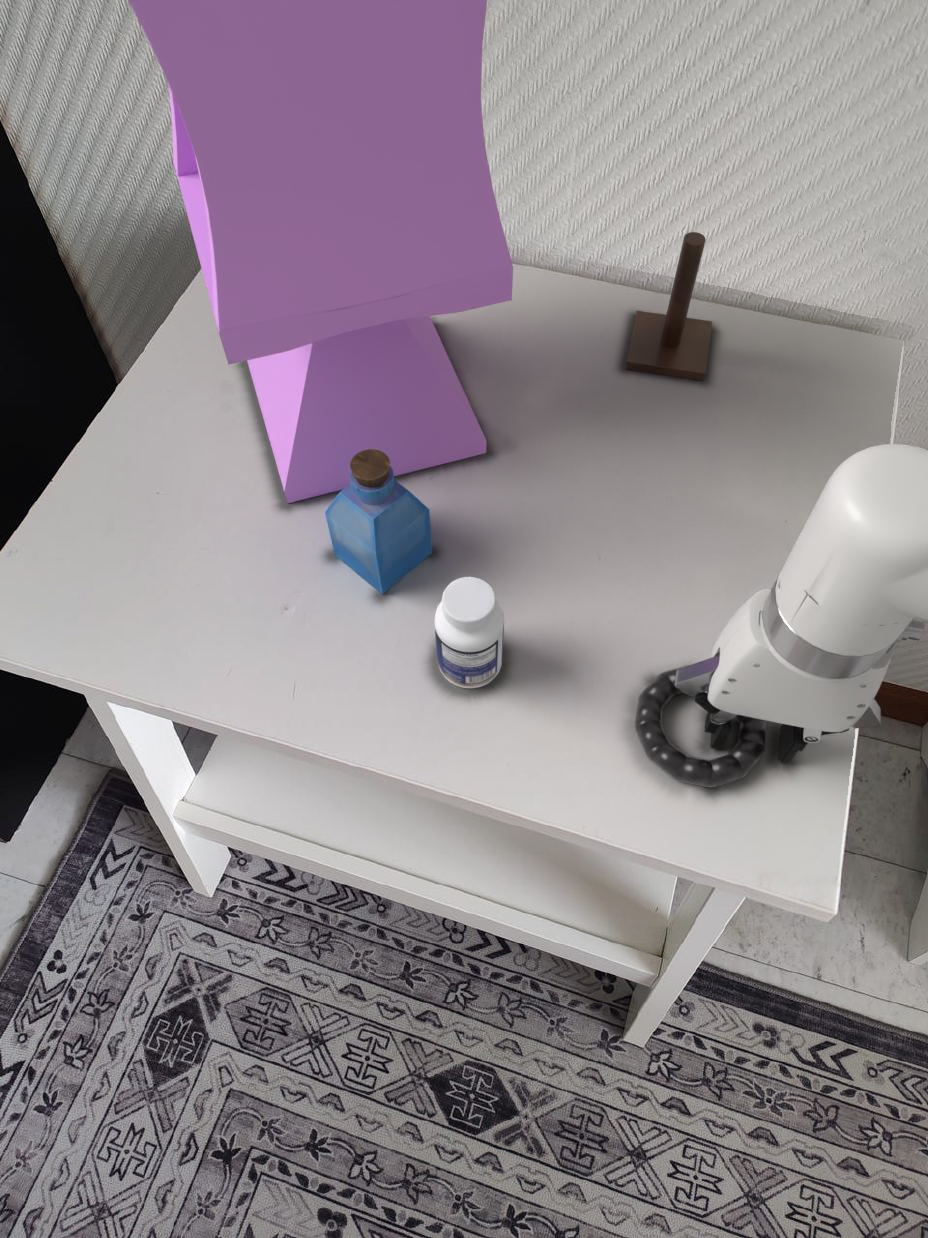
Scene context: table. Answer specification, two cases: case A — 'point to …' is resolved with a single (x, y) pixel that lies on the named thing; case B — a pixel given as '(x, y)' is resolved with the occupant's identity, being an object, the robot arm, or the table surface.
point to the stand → (674, 325)
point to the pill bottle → (469, 633)
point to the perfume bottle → (378, 523)
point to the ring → (686, 766)
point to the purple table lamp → (338, 214)
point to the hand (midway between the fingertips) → (750, 737)
